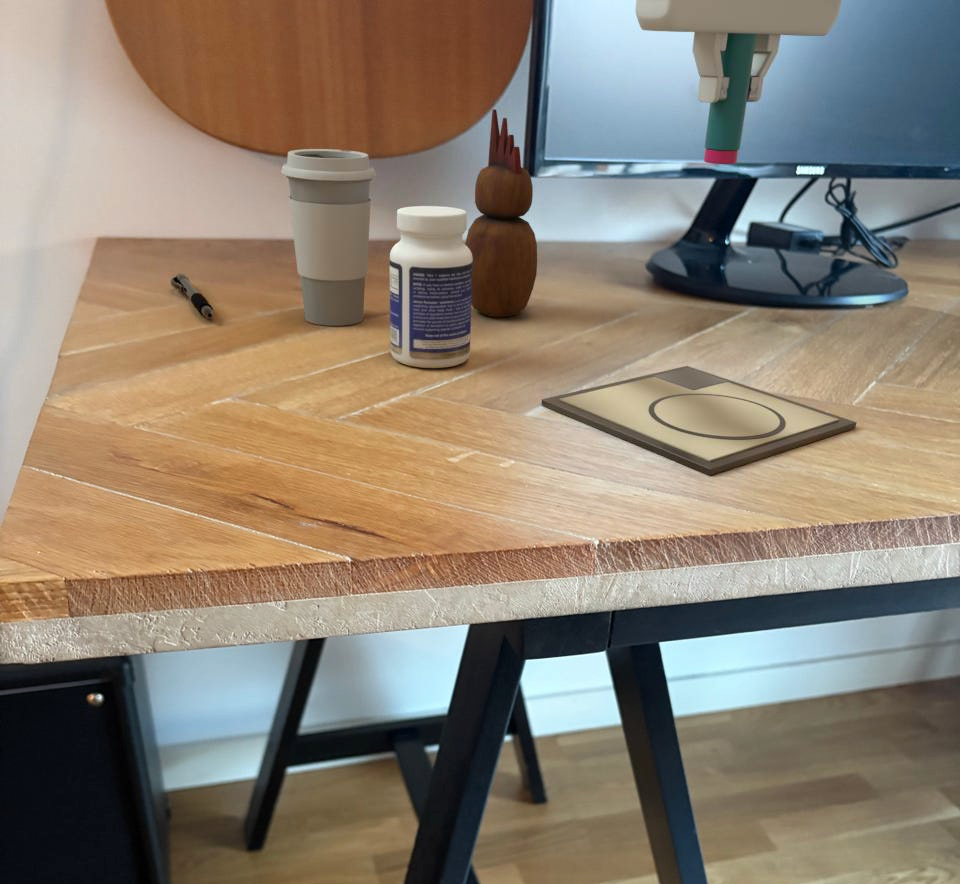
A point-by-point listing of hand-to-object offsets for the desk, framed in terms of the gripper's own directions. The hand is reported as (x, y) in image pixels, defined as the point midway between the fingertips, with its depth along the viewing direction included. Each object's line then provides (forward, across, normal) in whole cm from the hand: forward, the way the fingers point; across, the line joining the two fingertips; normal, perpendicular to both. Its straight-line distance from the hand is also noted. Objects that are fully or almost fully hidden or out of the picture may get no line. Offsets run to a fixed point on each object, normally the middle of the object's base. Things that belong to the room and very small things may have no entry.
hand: (728, 102), depth 79 cm
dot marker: (+4, 0, 0) cm, 4 cm away
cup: (+16, -29, +13) cm, 36 cm away
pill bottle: (+16, -29, 0) cm, 33 cm away
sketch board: (+16, -22, -19) cm, 33 cm away
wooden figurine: (+16, -16, +8) cm, 24 cm away
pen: (+16, -37, +23) cm, 46 cm away
